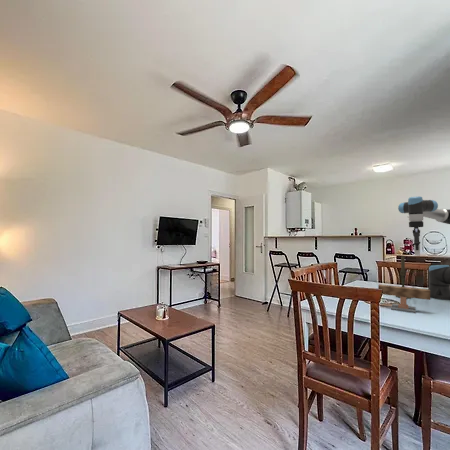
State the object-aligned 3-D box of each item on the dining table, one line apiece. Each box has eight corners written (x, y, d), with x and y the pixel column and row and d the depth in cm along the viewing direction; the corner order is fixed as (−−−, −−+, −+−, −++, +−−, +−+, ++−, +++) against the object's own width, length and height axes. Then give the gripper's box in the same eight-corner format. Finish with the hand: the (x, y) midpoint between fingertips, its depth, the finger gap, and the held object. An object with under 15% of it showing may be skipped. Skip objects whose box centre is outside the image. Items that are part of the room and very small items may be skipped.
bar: (378, 293, 169) (378, 285, 169) (379, 292, 173) (379, 284, 173) (430, 299, 154) (430, 291, 154) (429, 298, 158) (429, 289, 158)
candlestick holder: (413, 299, 187) (412, 256, 188) (399, 298, 189) (398, 255, 190) (407, 296, 196) (406, 255, 197) (393, 295, 198) (393, 254, 199)
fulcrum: (392, 305, 171) (392, 292, 172) (415, 308, 164) (415, 295, 165) (391, 309, 162) (391, 296, 162) (415, 313, 155) (415, 299, 155)
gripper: (409, 221, 182) (410, 252, 182) (408, 221, 162) (409, 256, 162) (422, 221, 178) (423, 252, 178) (423, 220, 158) (425, 256, 157)
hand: (417, 254), depth 170 cm, fingers open, 13 cm apart
